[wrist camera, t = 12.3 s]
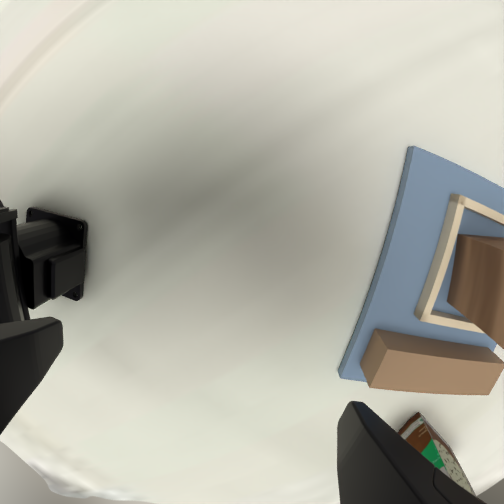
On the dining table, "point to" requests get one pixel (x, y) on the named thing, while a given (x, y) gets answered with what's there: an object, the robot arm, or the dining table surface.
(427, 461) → the robot arm
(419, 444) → the food container
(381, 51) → the dining table surface
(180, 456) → the dining table surface
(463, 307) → the pillar
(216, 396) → the dining table surface
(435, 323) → the blueprint board
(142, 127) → the dining table surface
